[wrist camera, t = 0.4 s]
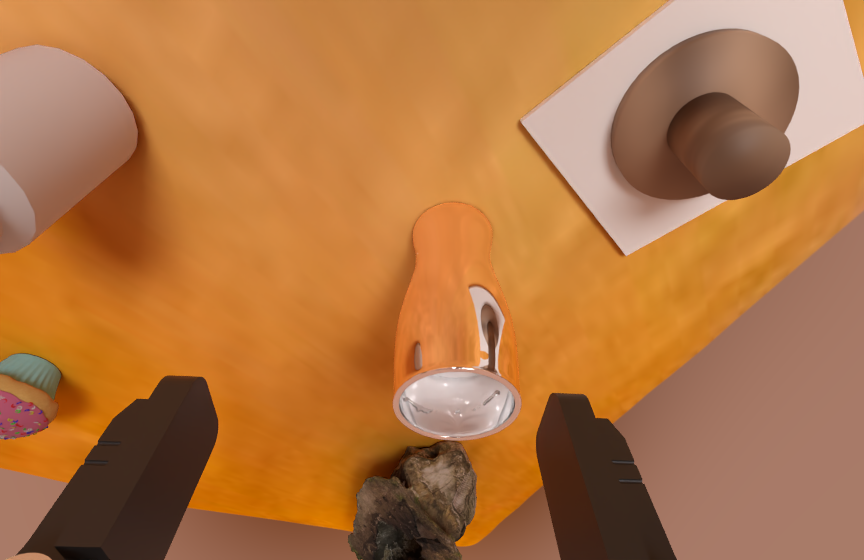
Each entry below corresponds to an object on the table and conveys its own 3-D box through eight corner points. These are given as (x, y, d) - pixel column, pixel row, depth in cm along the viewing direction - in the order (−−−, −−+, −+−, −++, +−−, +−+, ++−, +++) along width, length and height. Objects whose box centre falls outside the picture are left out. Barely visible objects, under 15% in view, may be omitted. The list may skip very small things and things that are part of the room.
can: (169, 121, 28) (41, 228, 19) (107, 181, 31) (-30, 298, 22) (47, 10, 24) (-185, 81, 15) (-11, 91, 27) (-234, 189, 18)
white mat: (806, -110, 21) (813, -110, 20) (868, 115, 27) (874, 118, 27) (519, 119, 28) (520, 122, 27) (624, 252, 34) (626, 256, 34)
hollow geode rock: (392, 487, 73) (451, 571, 68) (327, 538, 65) (387, 639, 59) (456, 402, 55) (544, 507, 50) (376, 457, 47) (470, 592, 41)
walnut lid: (756, -18, 22) (835, 5, 18) (809, 126, 27) (882, 172, 23) (580, 114, 27) (608, 158, 23) (652, 217, 32) (686, 271, 27)
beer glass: (475, 180, 31) (494, 348, 19) (511, 251, 35) (544, 425, 23) (389, 219, 33) (361, 389, 22) (433, 281, 37) (428, 453, 26)
